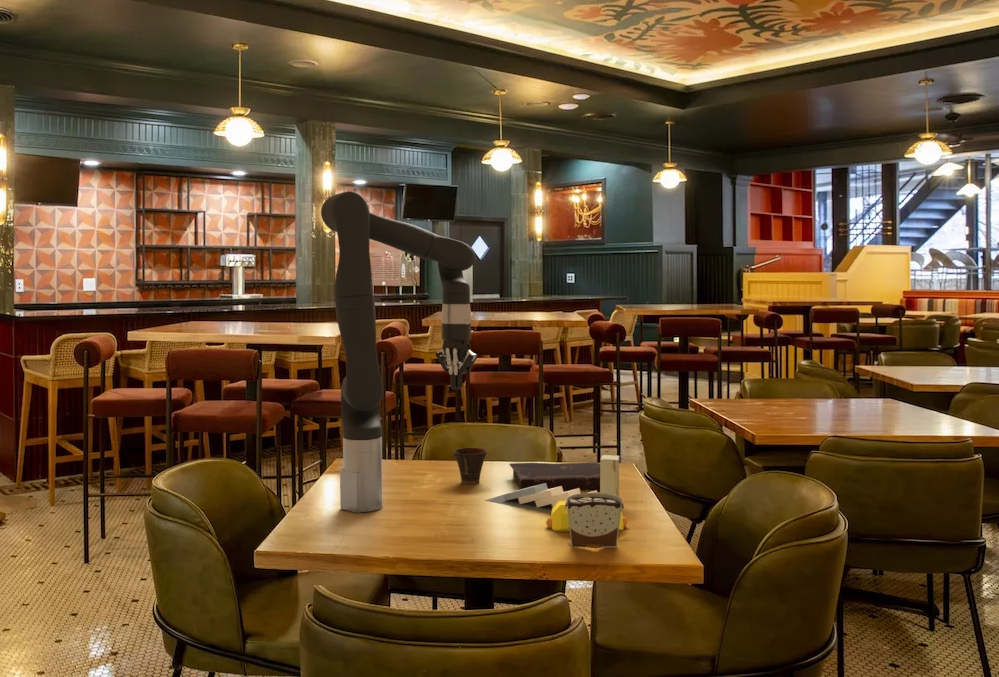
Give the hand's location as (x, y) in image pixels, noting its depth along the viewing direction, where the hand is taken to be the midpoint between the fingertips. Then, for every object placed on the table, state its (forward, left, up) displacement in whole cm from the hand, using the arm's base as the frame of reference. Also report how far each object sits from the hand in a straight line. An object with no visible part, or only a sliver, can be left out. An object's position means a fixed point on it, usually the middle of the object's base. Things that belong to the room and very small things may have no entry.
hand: (456, 389), depth 217 cm
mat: (+2, -24, -27) cm, 37 cm away
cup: (+9, +3, -27) cm, 29 cm away
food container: (-14, -50, -27) cm, 59 cm away
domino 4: (+2, -30, -26) cm, 40 cm away
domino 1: (+2, -16, -26) cm, 30 cm away
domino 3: (+2, -26, -26) cm, 36 cm away
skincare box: (+13, -38, -27) cm, 49 cm away
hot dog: (-7, -44, -27) cm, 52 cm away
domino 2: (+2, -21, -26) cm, 33 cm away
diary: (+24, -16, -28) cm, 40 cm away
